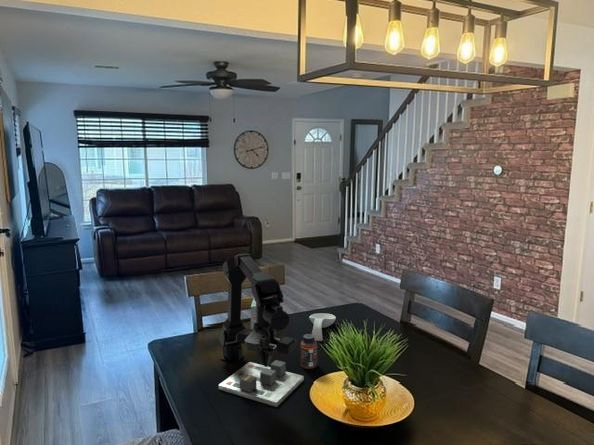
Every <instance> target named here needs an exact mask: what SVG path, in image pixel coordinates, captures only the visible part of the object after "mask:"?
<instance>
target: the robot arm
mask: <svg viewBox="0 0 594 445" xmlns="http://www.w3.org/2000/svg"><path fill="white" fill-rule="evenodd" d="M222 270H223V275H224V277H225V278H226V280H227V281H228V285H227V287H228V291H227V293H228V294H227V296H228V297H227V318H226V319H225V320H224V322H223V323H222V329H221V332H220V333H219V336H218V342H219V343H220V345H221V346H222V352H223V354H222V356H221V357H220V360H222V361H226V362H229V363H232V364H235V363H237V362H238V361H240V360H241V359H242V358H244V357H245V354H243V346H242V344H243V345H245V346H246V349H247V351H253V352H255V353H258V354H259V356H260V359H261V362H262V365H263V366H265V367H269V365H270V364H271V363H270V362H271V361H272V358H273V355H274V354H275V352H276V351H277V352H278V353H279V354H283V355H289V354H290V353H292V352H293V351H294V350H295V349H297V347H298V342H297V340H296V338H293V337H289V336H284V337H282V338H281V339H280V338H277V337H278V331H283V330H284V329H286V328H287V326H288V325H289V322H290V316H289V314H288V312H286V311H285V310H284V309H283V308H284V307H283V306H282V305H280V304H281V303H282V304H283V303H284V294H283V292H282V289H281V287H280V284H279V282H278V281H277V279H276V278H275V277H273V276H272V275H271V274H269V273H265V272H263V270H262V269H261V268H260V266H259V265H258V264H257V263H256V262H255V261H254V260H253V257H252V254H251V253H241V254H237V255H235V256H233V257H231V258H230V259H226V260H225V261H224V262H223V264H222ZM246 279H248V281H249V282H250V283H251V289H250V290H251V293H252V295H253V299H254V298H255V299H254V300H255V301H256V323H254V328H253V329H251V328H248V327H246V326H245V325H244V323H243V322H242V316H241V315H242V295H243V291H242V290H243V283H244V282H245V281H246ZM275 296H276V297H275Z"/></svg>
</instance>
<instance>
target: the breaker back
mask: <svg viewBox="0 0 594 445" xmlns="http://www.w3.org/2000/svg"><path fill="white" fill-rule="evenodd" d="M269 365H270V366H269V367H270V369H271V370H275V371H276V375H277V376H280V377H281V376H282V375H283V374H284V373H285V372H287V366H286V362H285V361H282V360H276V359H275V360H274V361H273V362H271V363H269Z"/></svg>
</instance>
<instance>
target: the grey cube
mask: <svg viewBox="0 0 594 445" xmlns="http://www.w3.org/2000/svg"><path fill="white" fill-rule="evenodd" d="M256 387H257V385H256V377H254V376H252V375H247V374H246V375H244V376H243V377H242V378H241V379H240V389H241V390H244V391H247V392H252V391H253V390H254V389H255V388H256Z"/></svg>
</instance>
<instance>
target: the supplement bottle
mask: <svg viewBox="0 0 594 445" xmlns="http://www.w3.org/2000/svg"><path fill="white" fill-rule="evenodd" d="M300 366H301V367H302V368H303V369H306V370H311V369H314V368H316V367H317V366H318V341H315V337H314V335H312V333H306V334H304V335H303V340H302V341H301V342H300Z"/></svg>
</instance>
